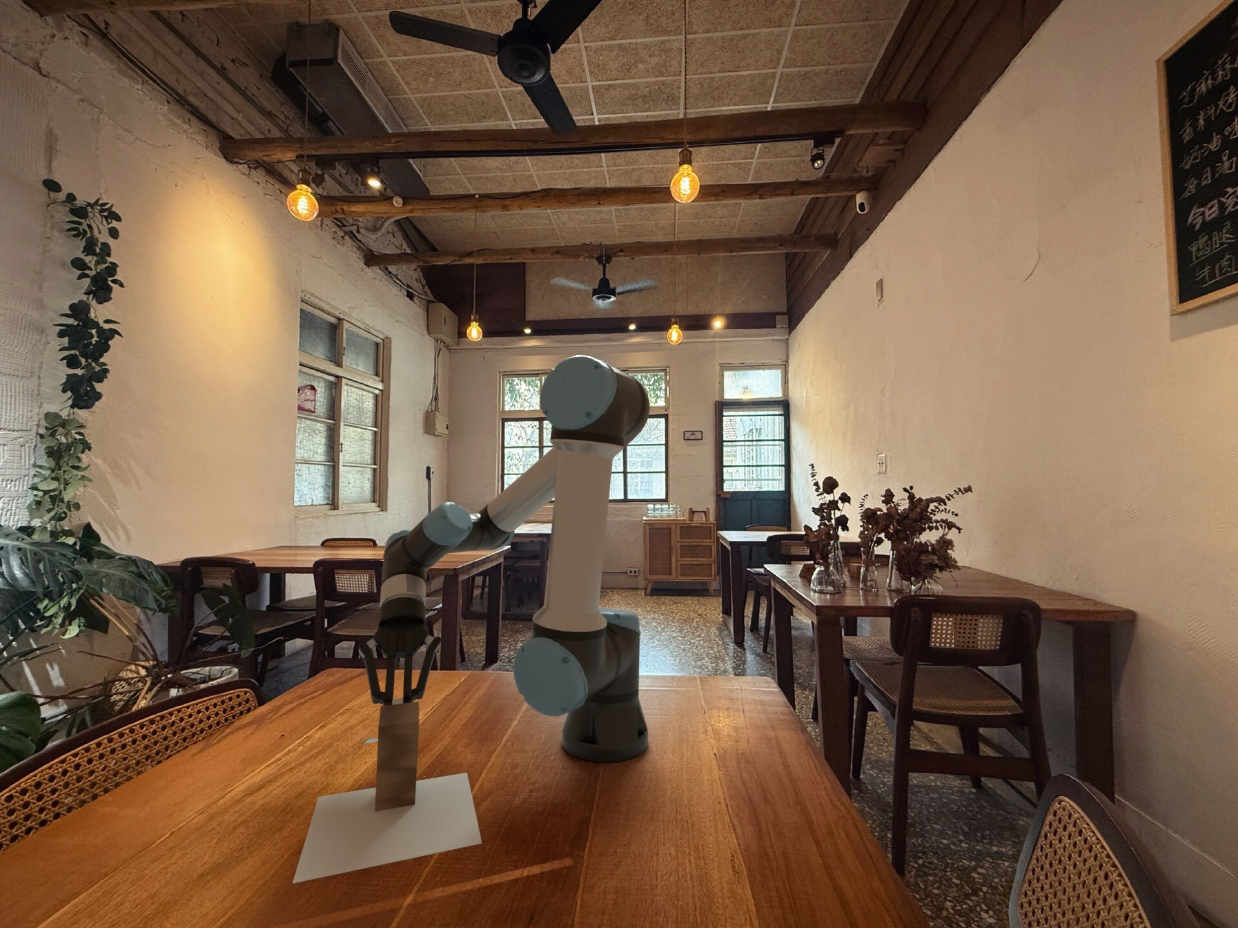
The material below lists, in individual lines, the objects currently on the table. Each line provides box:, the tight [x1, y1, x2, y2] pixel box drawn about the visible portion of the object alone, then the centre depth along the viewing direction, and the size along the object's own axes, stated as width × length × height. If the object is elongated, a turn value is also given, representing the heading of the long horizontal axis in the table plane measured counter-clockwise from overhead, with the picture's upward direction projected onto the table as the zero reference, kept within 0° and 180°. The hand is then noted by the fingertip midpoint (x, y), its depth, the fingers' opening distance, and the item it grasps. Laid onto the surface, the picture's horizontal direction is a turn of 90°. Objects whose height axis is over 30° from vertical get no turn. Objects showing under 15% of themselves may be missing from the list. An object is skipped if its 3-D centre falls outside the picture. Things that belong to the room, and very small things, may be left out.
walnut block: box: [375, 701, 420, 812], centre depth 74 cm, size 5×5×12 cm
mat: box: [292, 772, 483, 884], centre depth 70 cm, size 20×18×1 cm
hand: (395, 746), depth 77 cm, fingers closed
